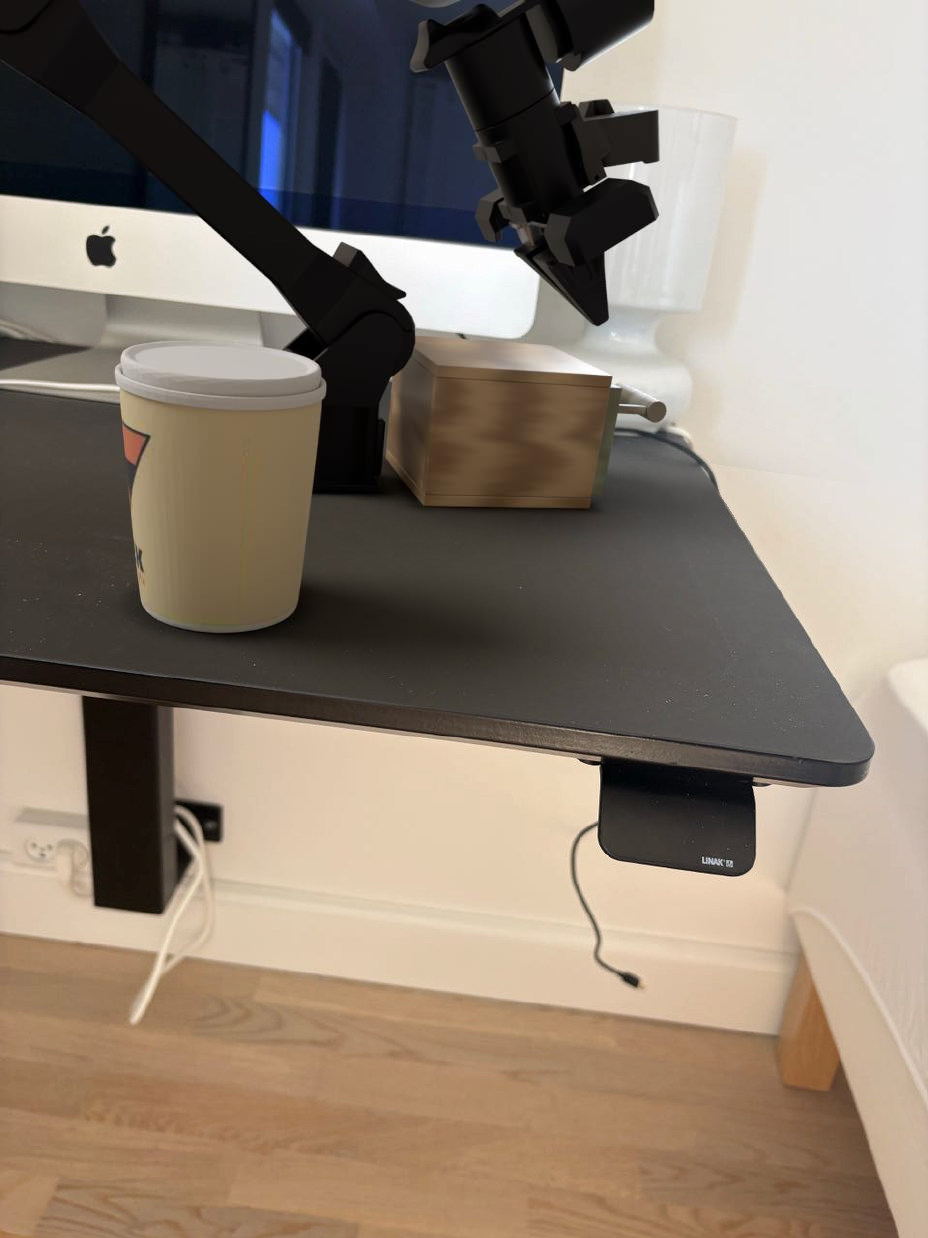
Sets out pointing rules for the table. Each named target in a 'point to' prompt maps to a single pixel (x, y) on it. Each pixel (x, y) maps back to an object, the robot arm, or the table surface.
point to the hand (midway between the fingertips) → (601, 322)
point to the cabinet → (496, 424)
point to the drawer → (620, 402)
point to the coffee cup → (219, 478)
